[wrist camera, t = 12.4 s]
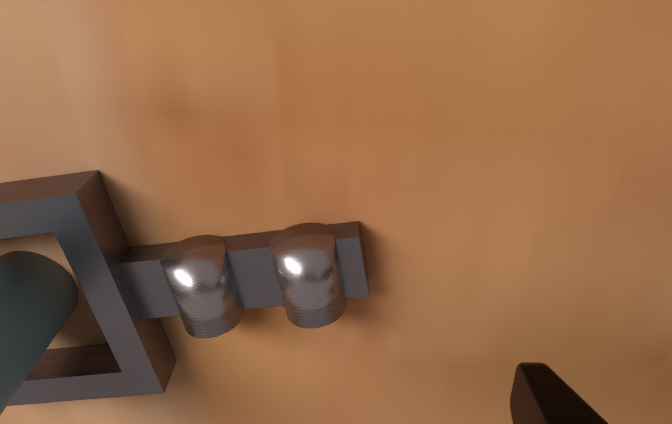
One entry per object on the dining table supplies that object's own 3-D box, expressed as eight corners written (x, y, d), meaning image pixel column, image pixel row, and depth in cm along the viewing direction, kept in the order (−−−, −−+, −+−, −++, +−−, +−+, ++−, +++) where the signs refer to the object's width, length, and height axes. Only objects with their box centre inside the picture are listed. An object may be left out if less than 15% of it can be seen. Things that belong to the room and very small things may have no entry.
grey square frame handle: (344, 136, 21) (342, 166, 19) (379, 343, 26) (380, 385, 24) (-335, 228, 25) (-405, 262, 22) (-188, 393, 30) (-233, 434, 28)
